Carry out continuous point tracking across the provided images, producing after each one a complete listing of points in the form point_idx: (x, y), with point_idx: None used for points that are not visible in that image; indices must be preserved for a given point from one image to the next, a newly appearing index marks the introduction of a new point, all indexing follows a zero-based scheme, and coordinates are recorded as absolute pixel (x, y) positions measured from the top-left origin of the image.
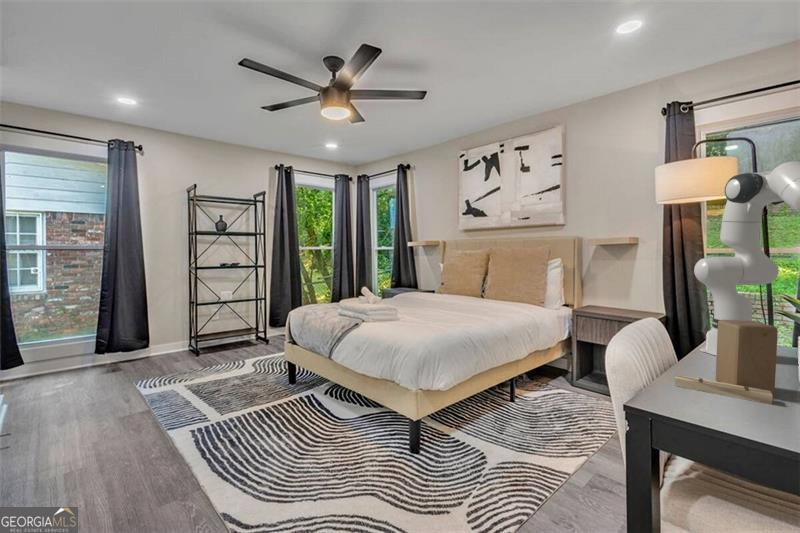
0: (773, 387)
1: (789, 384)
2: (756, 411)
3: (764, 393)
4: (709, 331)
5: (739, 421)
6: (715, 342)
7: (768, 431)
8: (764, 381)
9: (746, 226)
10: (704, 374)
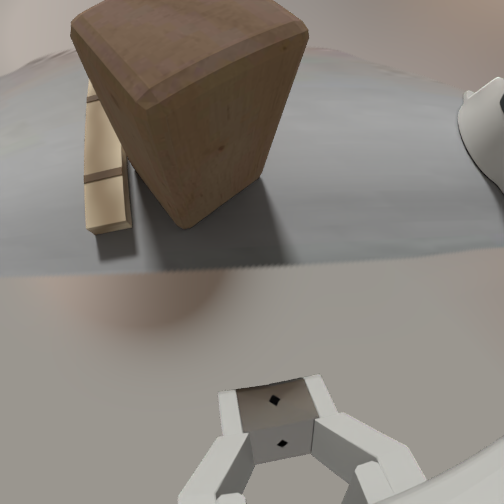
0: (177, 222)
1: (349, 253)
2: (27, 217)
3: (90, 212)
4: (500, 78)
5: None
6: (482, 98)
7: None
8: (159, 198)
9: None
10: None
